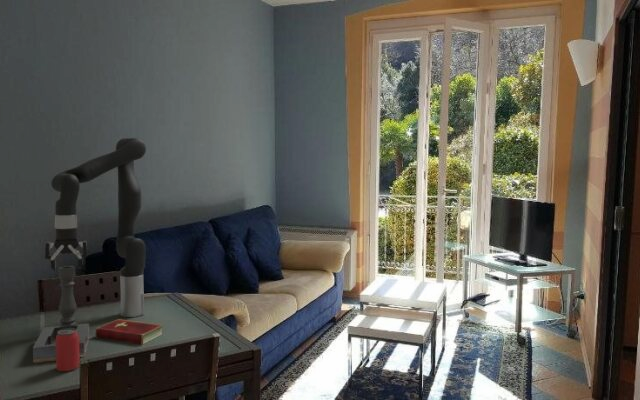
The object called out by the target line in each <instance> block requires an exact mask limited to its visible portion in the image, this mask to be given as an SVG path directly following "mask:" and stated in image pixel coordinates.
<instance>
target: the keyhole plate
mask: <svg viewBox="0 0 640 400" xmlns="http://www.w3.org/2000/svg"><path fill="white" fill-rule="evenodd" d="M68 328H74V329H77V333H78V335H79V359H81V358H85V356H86V353H87V347H88V345H89V340H90V323H88V322H87V323H79V324H78V323H77V325H66V326H59V325H56V326H47V327H45V326H44V327H43V328H42V331H41V333H39V336H38V337H37V340H36V341H35V343H34V345H33V346H32V361H33V362H32V363H45V362H53V361H56V336H57V332H58V331H60V330H62V329H68ZM80 357H81V358H80Z"/></svg>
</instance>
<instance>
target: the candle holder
mask: <svg viewBox="0 0 640 400" xmlns="http://www.w3.org/2000/svg"><path fill="white" fill-rule="evenodd" d="M57 269H58V270H57V271H58V277H59V280H60V283H59V286H60V288H61V297H60V300H59V306H58V312H59V313H60V314H61V317H60V319H59V324H58V326H66V325H77V324H78V322H77V317H76V316H75V312H76V310H77V303H76V300H75V296H74V286H75V283H76V282H75V281H74V278H75V276H76V266H74V265H66V266H60V267H58V268H57Z"/></svg>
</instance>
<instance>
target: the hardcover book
mask: <svg viewBox="0 0 640 400" xmlns="http://www.w3.org/2000/svg"><path fill="white" fill-rule="evenodd" d="M163 327H164V325H162V324H156V323H149V322H148V323H147V322H142V321H136V320H134V321H133V320H128V319H127V320H126V319H122V318H121V319H119V318H118V319H115V320H113V321H110V322H107V323H105V324H103V325H100V326H98V327H96V328H95V338H96V339H97V338H98V339H104V340H110V341H116V342H117V341H118V342H122V341H123V342H124V343H128V342H129V343H130V344H135V345H141V344H142V345H141V346H143V345H144V344H146V343H148V342H150V341H151V340H154V339H156V338H157V337H159V336H161V335H162V333H163V331H162V330H163V329H162V328H163Z"/></svg>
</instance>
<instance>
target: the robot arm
mask: <svg viewBox="0 0 640 400" xmlns="http://www.w3.org/2000/svg"><path fill="white" fill-rule="evenodd" d="M146 146H147V145H146V144H145V142H144V141H142V140H141V139H140V138H137V137H124V138H121V139H119V140H118V141H117V143H116V145H115V150H114V151H112V152H110V153H106V154H104V155H100V156H98V157H95V158H92V159H90V160H86V161H85V162H84V163H81V164H80V165H77V166H75V167H73V168H71V169H67V170H64V171H62V172H59V173H58V174H55V175H54V176H53V177H52V179H51V182H50V183H51V187H52V189H53V190H55V192H59V193H60V195H59V199H57V200H56V201H55V208H54V209H55V213H54V214H55V218H54V235H55V236H54V239H55V240H54V242H50V241H48V242H46V244H45V250H44V251H45V253H44V258H45V260H50V267H51V269H52V271H56V269H57V262H56V257H57V256H59V254H62V255H63V254H72V253H73V254H74V255H75V256H76V257H77V258H78V259H77V269H78V270H79V269H81V268H82V267H83V263H84V262H83V260H84V258H87V257H88V242H87V240H83V241H78V216H77V201H78V196H79V192H80V184H84V183H88V182H91V181H92V180H94V179H96V178H98V177H101V175H103V174H106V173H108V172H110V171H112V170H113V169H116V168H117V187H118V188H117V189H118V190H117V207H118V208H117V209H118V215H117V216H118V217H117V221H118V222H117V224H118V225H117V236H116V244H115V246H116V247H115V248H116V253H117V255H118V256H119V257H121V258H122V259H123V258H124V259H125V265H124V266H123V267H121V268H120V271H119V273H120V274H119V277H120V278H119V279H120V282H119V283H120V316H121V317H124V318H133V317H134V318H135V317H136V318H137V317H139V316H145V299H144V297H145V293H144V291H145V290H144V270H145V268H146V259H147V258H146V255H147V249H146V247H147V246H146V244H145V242H144V240H143V239H142V238H139V237H138V238H137V237H135V224H136V221H137V219H138V215H139V213H140V211H141V209H142V190H141V186H140V184H139V182H138V181H139V180H138V179H137V176H136V175H135V174H136V173H135V169H134V168H135V167H134V166H135V163H134V162H135V161H137V160H140V159H142V158H143V157H144V156H145V154H146V151H147V147H146ZM79 246H80V247H81V248H82V251H83V253H81V252H80V250H78V249H77V248H78V247H79ZM53 247H54V248H55V250H56V251H55V252H54V253H53V255H50V254H51V249H52V248H53Z"/></svg>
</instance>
